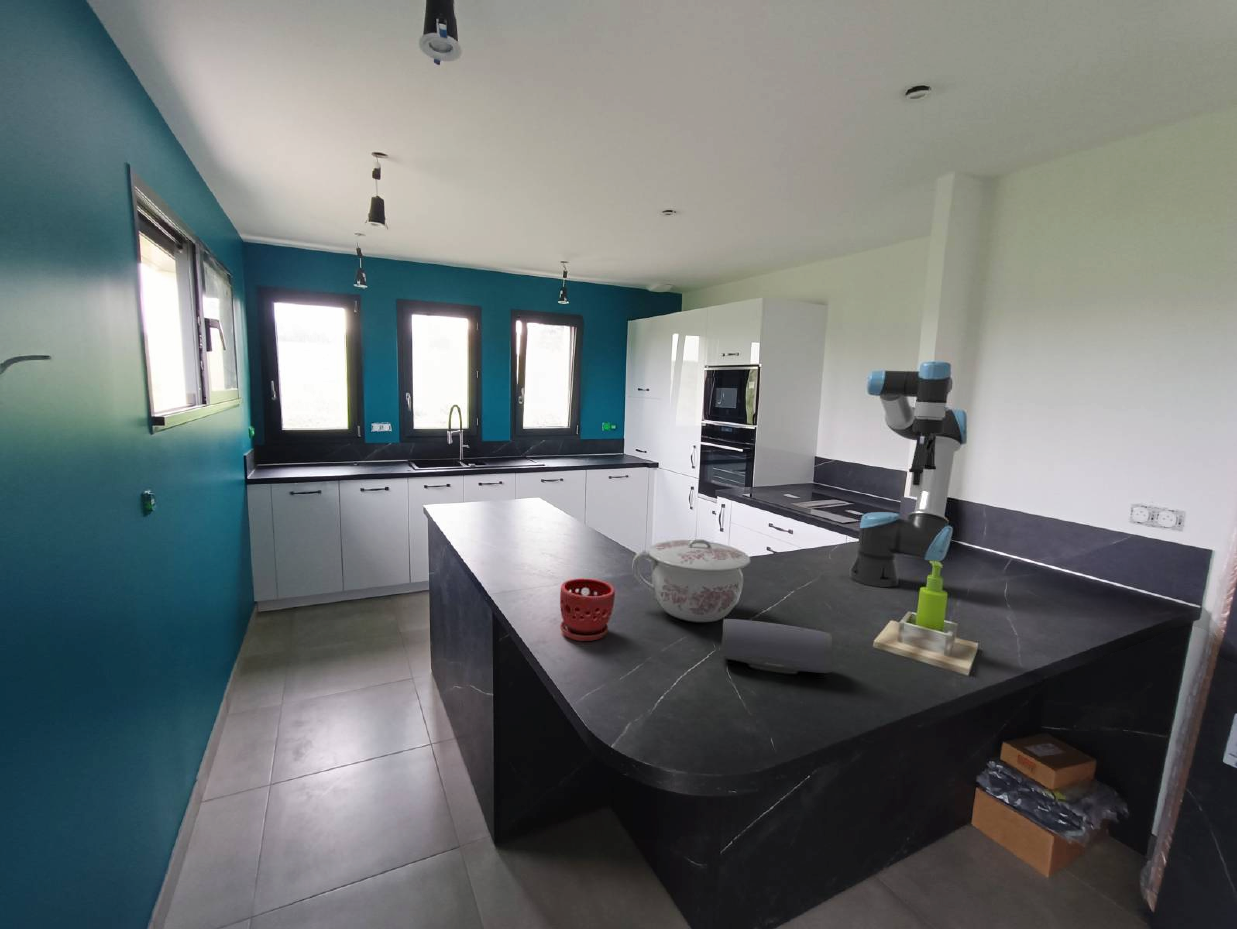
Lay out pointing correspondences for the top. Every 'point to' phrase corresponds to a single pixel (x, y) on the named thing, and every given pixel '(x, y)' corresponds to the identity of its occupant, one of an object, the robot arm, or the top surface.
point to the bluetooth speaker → (776, 646)
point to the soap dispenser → (932, 601)
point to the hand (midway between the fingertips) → (919, 494)
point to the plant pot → (586, 609)
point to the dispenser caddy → (928, 644)
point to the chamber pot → (694, 578)
